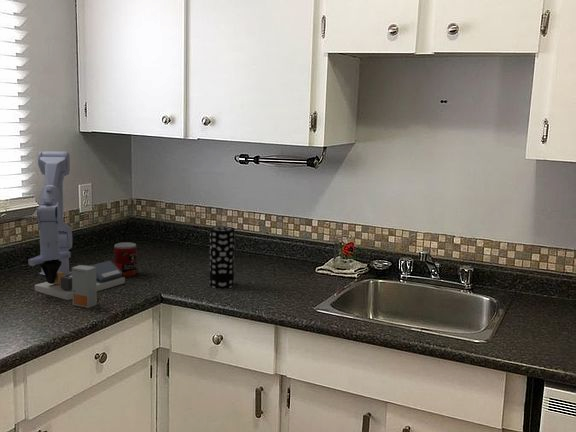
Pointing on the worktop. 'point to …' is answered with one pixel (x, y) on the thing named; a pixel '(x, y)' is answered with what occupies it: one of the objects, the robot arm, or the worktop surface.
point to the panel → (67, 294)
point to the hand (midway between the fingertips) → (51, 282)
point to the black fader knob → (66, 283)
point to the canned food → (126, 258)
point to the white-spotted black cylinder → (222, 257)
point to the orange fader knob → (59, 277)
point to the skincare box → (84, 286)
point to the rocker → (106, 271)
